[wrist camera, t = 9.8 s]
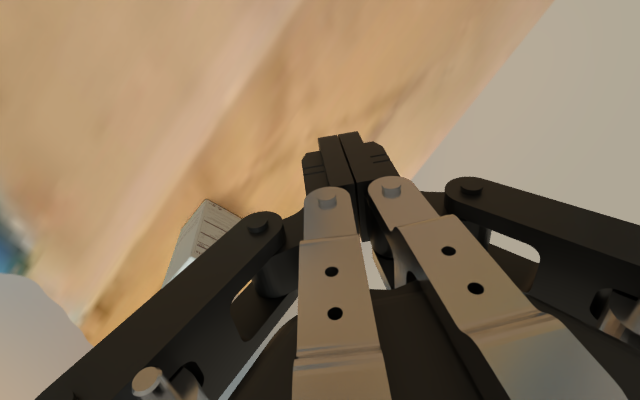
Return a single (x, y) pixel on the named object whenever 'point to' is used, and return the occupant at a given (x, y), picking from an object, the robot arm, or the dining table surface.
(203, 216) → the supplement box
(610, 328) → the robot arm
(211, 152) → the dining table surface
